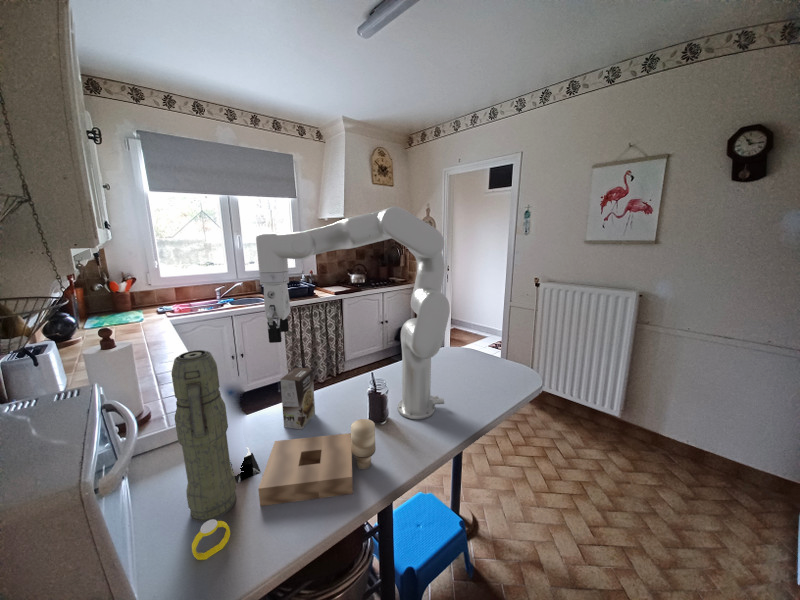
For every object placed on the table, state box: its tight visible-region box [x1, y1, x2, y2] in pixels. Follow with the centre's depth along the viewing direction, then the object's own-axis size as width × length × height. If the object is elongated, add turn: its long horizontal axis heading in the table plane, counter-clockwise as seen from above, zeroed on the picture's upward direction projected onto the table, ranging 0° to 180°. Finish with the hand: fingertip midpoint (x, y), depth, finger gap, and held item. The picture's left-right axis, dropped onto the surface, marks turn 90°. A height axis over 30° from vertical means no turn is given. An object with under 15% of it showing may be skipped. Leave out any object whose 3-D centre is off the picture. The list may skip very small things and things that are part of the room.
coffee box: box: [280, 367, 316, 430], centre depth 97 cm, size 9×6×16 cm
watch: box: [191, 519, 231, 561], centre depth 57 cm, size 6×3×6 cm, turn 136°
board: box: [257, 432, 354, 507], centre depth 76 cm, size 20×16×4 cm
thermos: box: [171, 349, 237, 523], centre depth 64 cm, size 9×12×35 cm
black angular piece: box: [235, 446, 262, 484], centre depth 79 cm, size 12×7×5 cm, turn 37°
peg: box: [350, 418, 377, 470], centre depth 79 cm, size 6×6×11 cm
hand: (279, 336), depth 89 cm, fingers open, 9 cm apart
